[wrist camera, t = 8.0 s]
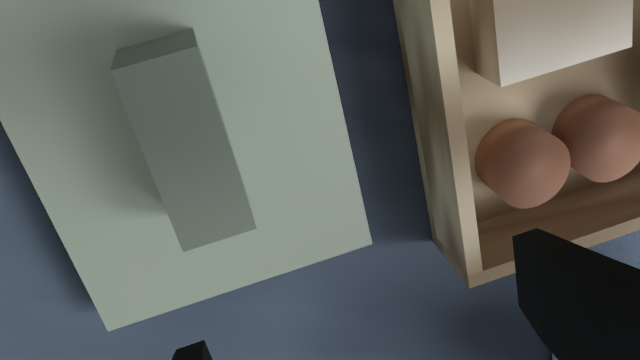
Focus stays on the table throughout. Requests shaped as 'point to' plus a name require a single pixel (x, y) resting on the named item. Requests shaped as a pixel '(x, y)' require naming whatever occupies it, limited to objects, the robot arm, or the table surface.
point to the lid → (180, 143)
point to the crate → (523, 122)
